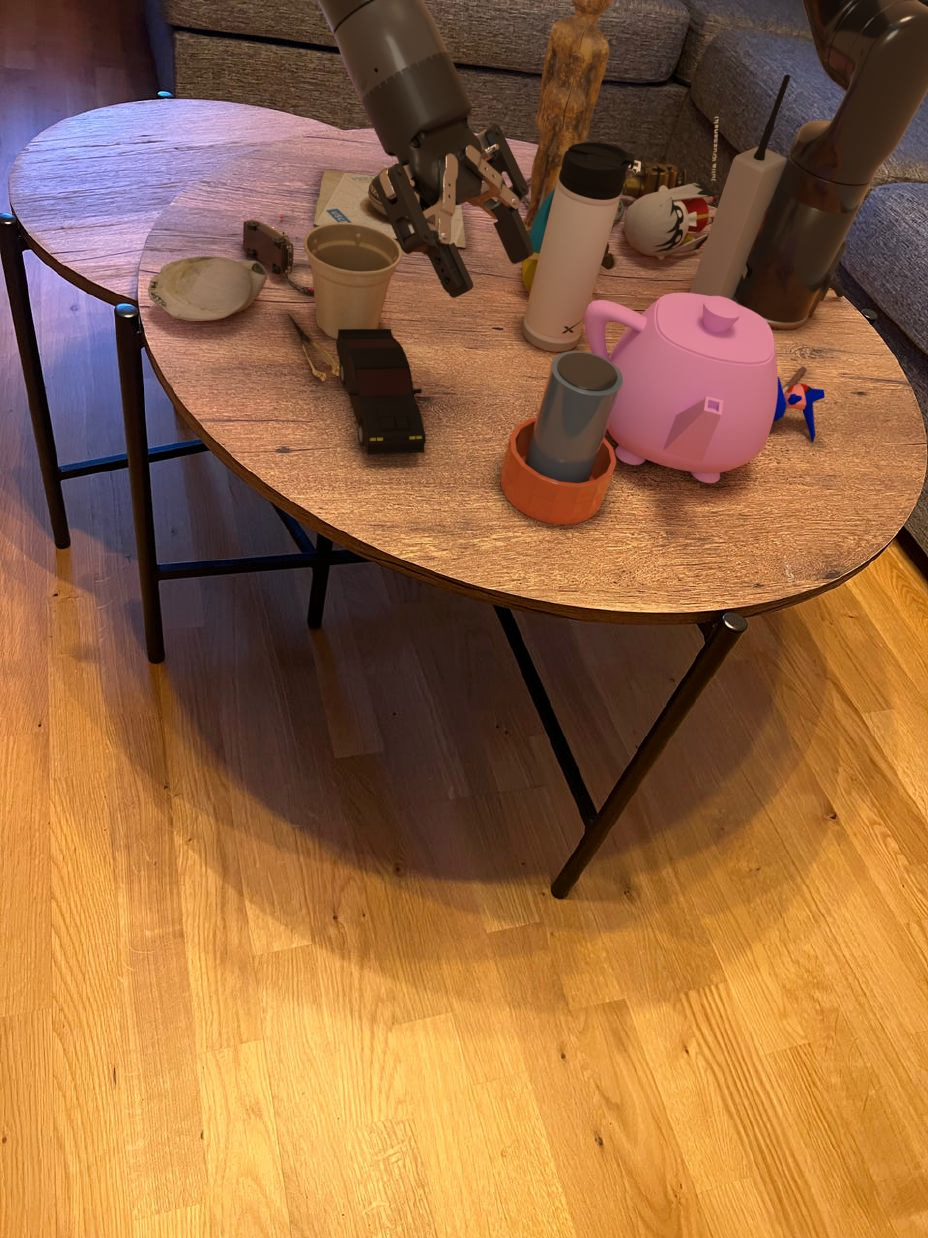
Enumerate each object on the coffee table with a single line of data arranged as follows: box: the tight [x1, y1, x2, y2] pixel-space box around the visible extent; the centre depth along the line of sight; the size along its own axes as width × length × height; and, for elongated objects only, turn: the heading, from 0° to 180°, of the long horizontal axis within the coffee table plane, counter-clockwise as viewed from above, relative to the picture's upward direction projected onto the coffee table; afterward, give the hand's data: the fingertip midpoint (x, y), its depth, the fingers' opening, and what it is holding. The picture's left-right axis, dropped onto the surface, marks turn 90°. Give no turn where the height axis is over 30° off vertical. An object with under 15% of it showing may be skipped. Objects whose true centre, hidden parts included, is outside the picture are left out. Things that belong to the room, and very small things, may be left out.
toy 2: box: [623, 116, 719, 260], centre depth 119 cm, size 15×10×15 cm
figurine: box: [773, 376, 826, 443], centre depth 100 cm, size 5×8×5 cm, turn 86°
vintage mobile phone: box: [688, 74, 791, 300], centre depth 107 cm, size 4×5×25 cm
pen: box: [782, 365, 808, 393], centre depth 105 cm, size 11×1×1 cm, turn 146°
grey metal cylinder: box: [525, 350, 623, 483], centre depth 84 cm, size 6×6×12 cm
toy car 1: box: [242, 214, 295, 275], centre depth 106 cm, size 4×12×8 cm
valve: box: [621, 162, 688, 198], centre depth 129 cm, size 7×15×5 cm, turn 89°
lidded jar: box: [313, 166, 467, 248], centre depth 116 cm, size 15×18×7 cm
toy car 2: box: [335, 328, 427, 456], centre depth 90 cm, size 7×16×5 cm, turn 15°
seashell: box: [147, 255, 268, 322], centre depth 96 cm, size 12×8×5 cm
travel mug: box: [521, 141, 636, 353], centre depth 98 cm, size 6×7×20 cm
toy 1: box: [520, 189, 621, 295], centre depth 110 cm, size 13×12×15 cm
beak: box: [286, 312, 340, 382], centre depth 96 cm, size 12×3×1 cm, turn 24°
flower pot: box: [303, 222, 403, 340], centre depth 97 cm, size 9×9×9 cm
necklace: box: [285, 264, 314, 296], centre depth 104 cm, size 4×6×1 cm, turn 17°
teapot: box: [583, 292, 779, 484], centre depth 89 cm, size 20×20×15 cm
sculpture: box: [522, 0, 613, 235], centre depth 107 cm, size 7×6×30 cm
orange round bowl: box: [500, 416, 617, 526], centre depth 87 cm, size 9×9×4 cm
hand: (494, 275), depth 80 cm, fingers open, 8 cm apart
